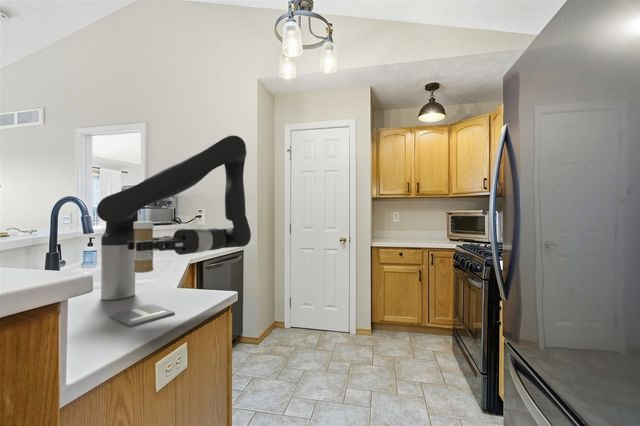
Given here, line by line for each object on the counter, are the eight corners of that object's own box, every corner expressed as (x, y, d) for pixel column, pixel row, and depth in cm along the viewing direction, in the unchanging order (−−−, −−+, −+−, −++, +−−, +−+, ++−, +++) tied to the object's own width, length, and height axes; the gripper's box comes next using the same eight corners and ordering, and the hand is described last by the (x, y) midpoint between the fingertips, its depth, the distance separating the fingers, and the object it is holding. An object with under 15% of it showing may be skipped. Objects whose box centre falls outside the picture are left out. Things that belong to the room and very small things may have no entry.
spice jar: (139, 270, 80) (138, 221, 80) (156, 269, 80) (156, 221, 80) (130, 273, 75) (129, 221, 75) (148, 273, 76) (148, 221, 76)
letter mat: (109, 317, 76) (109, 314, 76) (152, 306, 85) (152, 303, 85) (129, 327, 69) (129, 324, 70) (174, 314, 78) (174, 311, 79)
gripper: (180, 228, 94) (120, 231, 79) (207, 229, 85) (145, 232, 71) (180, 251, 94) (120, 258, 79) (207, 255, 85) (145, 263, 71)
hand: (132, 246), depth 75 cm, fingers closed on spice jar, 4 cm apart
